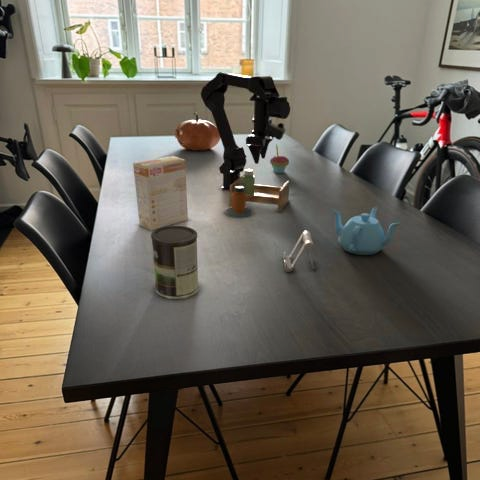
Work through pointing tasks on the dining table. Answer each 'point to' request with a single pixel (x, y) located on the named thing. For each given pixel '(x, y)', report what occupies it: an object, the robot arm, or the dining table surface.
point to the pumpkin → (197, 134)
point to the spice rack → (264, 194)
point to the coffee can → (175, 261)
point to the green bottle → (248, 181)
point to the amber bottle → (239, 199)
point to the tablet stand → (306, 246)
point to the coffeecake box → (161, 192)
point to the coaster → (234, 214)
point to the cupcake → (279, 162)
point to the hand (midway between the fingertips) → (260, 161)
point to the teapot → (363, 233)
